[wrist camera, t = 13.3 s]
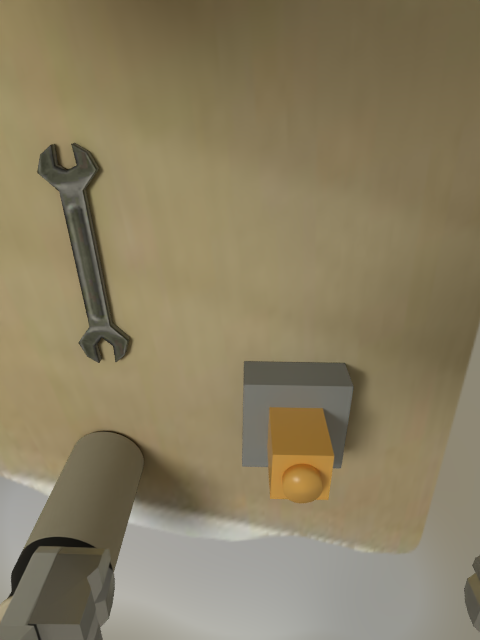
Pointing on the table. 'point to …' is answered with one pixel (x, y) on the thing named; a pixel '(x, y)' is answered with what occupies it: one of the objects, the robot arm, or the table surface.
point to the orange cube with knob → (299, 454)
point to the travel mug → (87, 501)
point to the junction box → (293, 402)
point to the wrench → (84, 247)
